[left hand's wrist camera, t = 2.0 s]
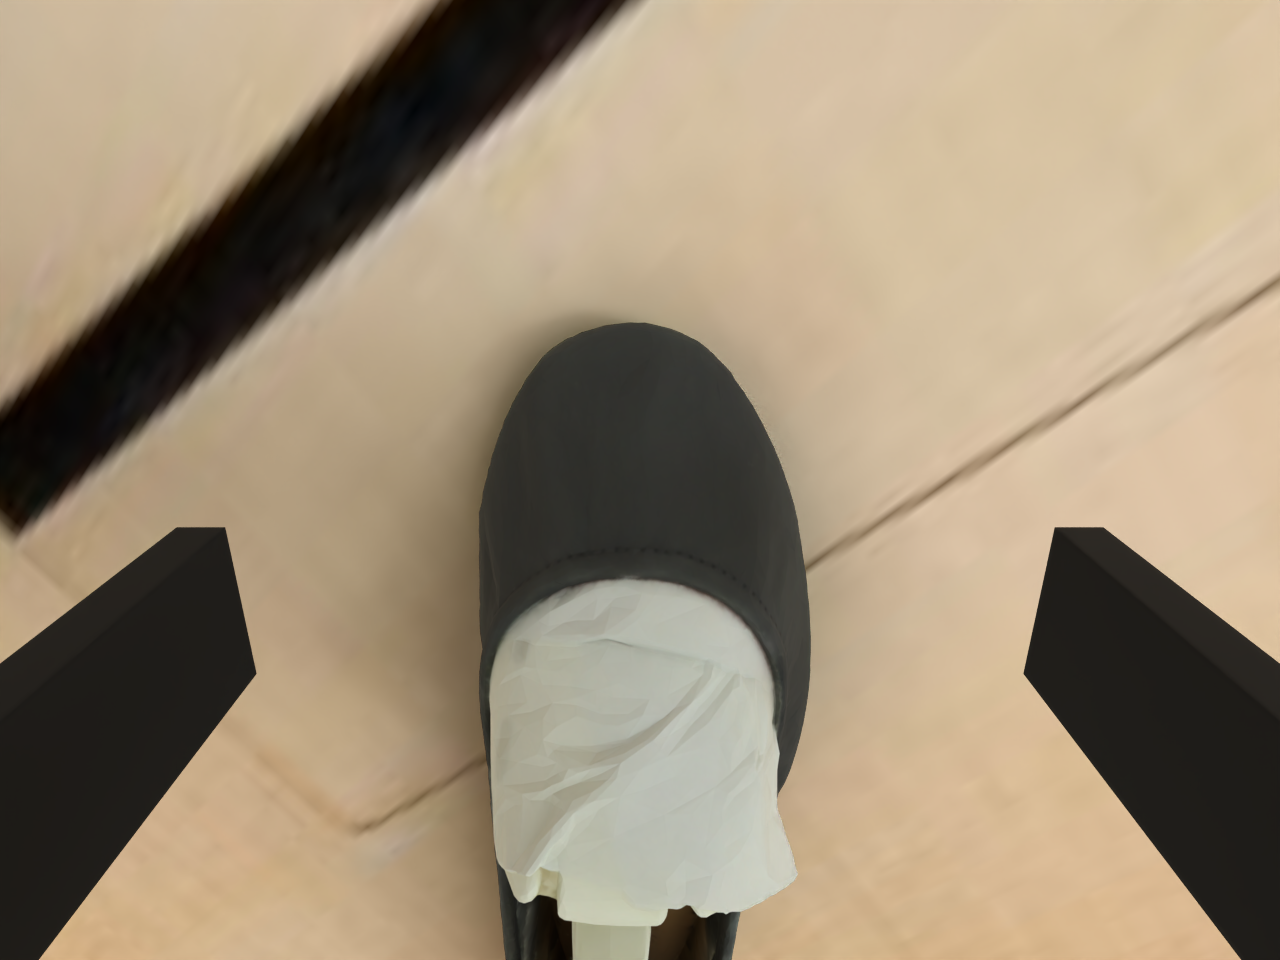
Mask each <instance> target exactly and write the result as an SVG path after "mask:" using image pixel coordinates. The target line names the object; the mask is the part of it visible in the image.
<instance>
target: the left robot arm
mask: <svg viewBox="0 0 1280 960" xmlns="http://www.w3.org/2000/svg"><path fill="white" fill-rule="evenodd" d="M255 675H256V669H255V664H254V660H253V655H252V650H251V646H250V641H249V636H248V632H247V627H246V622H245V618H244V613H243V608H242V604H241V599H240V594H239V590H238V585H237V580H236V576H235V571H234V566H233V562H232V557H231V552H230V548H229V543H228V538H227V534H226V529H225V527H177V528H175V529H174V530H173V531H171V532H170V533H169V534H168V535H166V536H165V537H164V538H162V539H161V540H160V541H159V542H157V543H156V544H155V545H153V546H152V547H151V548H149V549H148V550H147V551H146V552H144V553H143V554H142V555H140V556H139V557H138V558H136V559H135V560H134V561H133V562H131V563H130V564H129V565H127V566H126V567H125V568H124V569H122V570H121V571H120V572H118V573H117V574H116V575H114V576H113V577H112V578H111V579H109V580H108V581H107V582H105V583H104V584H103V585H101V586H100V587H99V588H98V589H96V590H95V591H94V592H92V593H91V594H90V595H89V596H87V597H86V598H85V599H83V600H82V601H81V602H79V603H78V604H77V605H76V606H74V607H73V608H72V609H70V610H69V611H68V612H67V613H65V614H64V615H63V616H61V617H60V618H59V619H57V620H56V621H55V622H54V623H52V624H51V625H50V626H48V627H47V628H46V629H44V630H43V631H42V632H41V633H39V634H38V635H37V636H35V637H34V638H33V639H32V640H30V641H29V642H28V643H26V644H25V645H24V646H22V647H21V648H20V649H19V650H17V651H16V652H15V653H13V654H12V655H11V656H9V657H8V658H7V659H6V660H4V661H3V662H2V663H0V960H39V959H40V957H41V956H42V955H43V953H44V952H45V951H46V950H47V948H48V947H49V946H50V944H51V943H52V942H53V940H54V939H55V938H56V936H57V935H58V934H59V932H60V931H61V930H62V928H63V927H64V926H65V925H66V923H67V922H68V921H69V919H70V918H71V917H72V915H73V914H74V913H75V911H76V910H77V909H78V907H79V906H80V905H81V904H82V902H83V901H84V900H85V898H86V897H87V896H88V894H89V893H90V892H91V890H92V889H93V888H94V886H95V885H96V884H97V883H98V881H99V880H100V879H101V877H102V876H103V875H104V873H105V872H106V871H107V869H108V868H109V867H110V865H111V864H112V863H113V862H114V860H115V859H116V858H117V856H118V855H119V854H120V852H121V851H122V850H123V848H124V847H125V846H126V844H127V843H128V842H129V840H130V839H131V838H132V837H133V835H134V834H135V833H136V831H137V830H138V829H139V827H140V826H141V825H142V823H143V822H144V821H145V819H146V818H147V817H148V816H149V814H150V813H151V812H152V810H153V809H154V808H155V806H156V805H157V804H158V802H159V801H160V800H161V798H162V797H163V796H164V795H165V793H166V792H167V791H168V789H169V788H170V787H171V785H172V784H173V783H174V781H175V780H176V779H177V777H178V776H179V775H180V774H181V772H182V771H183V770H184V768H185V767H186V766H187V764H188V763H189V762H190V760H191V759H192V758H193V756H194V755H195V754H196V752H197V751H198V750H199V749H200V747H201V746H202V745H203V743H204V742H205V741H206V739H207V738H208V737H209V735H210V734H211V733H212V731H213V730H214V729H215V728H216V726H217V725H218V724H219V722H220V721H221V720H222V718H223V717H224V716H225V714H226V713H227V712H228V710H229V709H230V708H231V707H232V705H233V704H234V703H235V701H236V700H237V699H238V697H239V696H240V695H241V693H242V692H243V691H244V689H245V688H246V687H247V685H248V684H249V683H250V682H251V680H252V679H253V678H254V676H255ZM1024 675H1025V676H1026V678H1027V679H1028V680H1029V682H1030V683H1031V684H1032V686H1033V687H1034V688H1035V689H1036V691H1037V692H1038V693H1039V695H1040V696H1041V697H1042V699H1043V700H1044V701H1045V703H1046V704H1047V705H1048V707H1049V708H1050V709H1051V710H1052V712H1053V713H1054V714H1055V716H1056V717H1057V718H1058V720H1059V721H1060V722H1061V724H1062V725H1063V726H1064V728H1065V729H1066V730H1067V731H1068V733H1069V734H1070V735H1071V737H1072V738H1073V739H1074V741H1075V742H1076V743H1077V745H1078V746H1079V747H1080V749H1081V750H1082V751H1083V752H1084V754H1085V755H1086V756H1087V758H1088V759H1089V760H1090V762H1091V763H1092V764H1093V766H1094V767H1095V768H1096V770H1097V771H1098V772H1099V774H1100V775H1101V776H1102V777H1103V779H1104V780H1105V781H1106V783H1107V784H1108V785H1109V787H1110V788H1111V789H1112V791H1113V792H1114V793H1115V795H1116V796H1117V797H1118V798H1119V800H1120V801H1121V802H1122V804H1123V805H1124V806H1125V808H1126V809H1127V810H1128V812H1129V813H1130V814H1131V816H1132V817H1133V818H1134V819H1135V821H1136V822H1137V823H1138V825H1139V826H1140V827H1141V829H1142V830H1143V831H1144V833H1145V834H1146V835H1147V837H1148V838H1149V839H1150V840H1151V842H1152V843H1153V844H1154V846H1155V847H1156V848H1157V850H1158V851H1159V852H1160V854H1161V855H1162V856H1163V858H1164V859H1165V860H1166V862H1167V863H1168V864H1169V865H1170V867H1171V868H1172V869H1173V871H1174V872H1175V873H1176V875H1177V876H1178V877H1179V879H1180V880H1181V881H1182V883H1183V884H1184V885H1185V886H1186V888H1187V889H1188V890H1189V892H1190V893H1191V894H1192V896H1193V897H1194V898H1195V900H1196V901H1197V902H1198V904H1199V905H1200V906H1201V907H1202V909H1203V910H1204V911H1205V913H1206V914H1207V915H1208V917H1209V918H1210V919H1211V921H1212V922H1213V923H1214V925H1215V926H1216V927H1217V928H1218V930H1219V931H1220V932H1221V934H1222V935H1223V936H1224V938H1225V939H1226V940H1227V942H1228V943H1229V944H1230V946H1231V947H1232V948H1233V950H1234V951H1235V952H1236V953H1237V955H1238V956H1239V957H1240V959H1241V960H1280V663H1278V662H1277V661H1276V660H1274V659H1273V658H1272V657H1271V656H1269V655H1268V654H1267V653H1265V652H1264V651H1263V650H1261V649H1260V648H1259V647H1258V646H1256V645H1255V644H1254V643H1252V642H1251V641H1250V640H1248V639H1247V638H1246V637H1245V636H1243V635H1242V634H1241V633H1239V632H1238V631H1237V630H1236V629H1234V628H1233V627H1232V626H1230V625H1229V624H1228V623H1226V622H1225V621H1224V620H1223V619H1221V618H1220V617H1219V616H1217V615H1216V614H1215V613H1213V612H1212V611H1211V610H1210V609H1208V608H1207V607H1206V606H1204V605H1203V604H1202V603H1201V602H1199V601H1198V600H1197V599H1195V598H1194V597H1193V596H1191V595H1190V594H1189V593H1188V592H1186V591H1185V590H1184V589H1182V588H1181V587H1180V586H1179V585H1177V584H1176V583H1175V582H1173V581H1172V580H1171V579H1169V578H1168V577H1167V576H1166V575H1164V574H1163V573H1162V572H1160V571H1159V570H1158V569H1156V568H1155V567H1154V566H1153V565H1151V564H1150V563H1149V562H1147V561H1146V560H1145V559H1144V558H1142V557H1141V556H1140V555H1138V554H1137V553H1136V552H1134V551H1133V550H1132V549H1131V548H1129V547H1128V546H1127V545H1125V544H1124V543H1123V542H1121V541H1120V540H1119V539H1118V538H1116V537H1115V536H1114V535H1112V534H1111V533H1110V532H1109V531H1107V530H1106V529H1105V528H1103V527H1055V529H1054V534H1053V538H1052V543H1051V548H1050V552H1049V557H1048V562H1047V566H1046V571H1045V576H1044V580H1043V585H1042V590H1041V594H1040V599H1039V604H1038V608H1037V613H1036V618H1035V622H1034V627H1033V632H1032V636H1031V641H1030V646H1029V650H1028V655H1027V660H1026V664H1025V669H1024Z"/></svg>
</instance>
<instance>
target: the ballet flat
mask: <svg viewBox="0 0 1280 960" xmlns="http://www.w3.org/2000/svg"><path fill="white" fill-rule="evenodd" d="M479 538H480V551H479V570H480V633H481V641H482V648H483V650H482V656H481V664H480V672H479V697H480V713H481V720H482V728H483V735H484V743H485V749H486V759H487V765H488V775H489V785H490V798H491V803H490V804H491V813H492V823H493V836H494V845H495V855H496V862H497V870H498V881H499V893H500V906H501V917H502V924H503V938H504V948H505V957H506V960H732V953H733V948H734V943H735V937H736V931H737V926H738V921H739V916H740V912H741V911H744V910H746V909H749V908H751V907H752V906H754V905H756V904H759V903H761V902H762V901H764V900H765V899H767V898H768V897H770V896H772V895H775V894H776V893H778V892H779V891H781V890H783V889H784V888H786V887H787V886H788V885H790V884H791V883H792V882H793V881H794V880H795V878H796V877H797V875H798V873H797V870H796V866H795V862H794V857H793V854H792V850H791V847H790V845H789V842H788V839H787V837H786V834H785V830H784V826H783V823H782V820H781V817H780V814H779V812H778V809H777V797H778V793H779V791H780V790H781V788H782V786H783V785H784V783H785V781H786V779H787V776H788V774H789V771H790V769H791V766H792V763H793V760H794V757H795V753H796V750H797V746H798V743H799V739H800V735H801V731H802V726H803V722H804V716H805V711H806V705H807V698H808V690H809V680H810V655H811V635H810V615H809V601H808V593H807V580H806V572H805V566H804V560H803V554H802V546H801V540H800V534H799V528H798V520H797V516H796V511H795V507H794V503H793V500H792V496H791V493H790V490H789V487H788V484H787V481H786V478H785V475H784V472H783V469H782V466H781V464H780V461H779V459H778V456H777V454H776V451H775V449H774V447H773V445H772V443H771V440H770V438H769V436H768V434H767V432H766V430H765V428H764V426H763V424H762V422H761V420H760V418H759V417H758V415H757V413H756V411H755V409H754V407H753V405H752V404H751V402H750V401H749V399H748V398H747V396H746V395H745V393H744V391H743V390H742V389H741V388H740V386H739V385H738V383H737V382H736V381H735V379H734V377H733V375H732V373H731V372H730V371H729V370H728V369H727V368H726V367H725V366H724V365H723V364H722V363H721V362H720V361H719V360H718V359H717V358H716V356H715V355H714V354H713V353H711V352H710V351H709V350H708V349H707V348H706V347H705V346H703V345H702V344H701V343H699V342H698V341H696V340H694V339H692V338H690V337H688V336H686V335H684V334H682V333H680V332H677V331H675V330H672V329H669V328H665V327H661V326H657V325H652V324H648V323H622V324H613V325H606V326H602V327H599V328H596V329H592V330H588V331H585V332H581V333H580V334H578V335H576V336H574V337H571V338H567V339H566V340H564V341H563V342H561V343H560V344H558V345H557V346H555V347H554V348H552V349H551V350H550V351H549V352H548V353H547V354H546V355H544V356H543V357H542V359H541V360H540V361H539V363H538V364H537V365H536V367H535V368H534V369H533V371H532V372H531V373H530V375H529V376H528V377H527V379H526V381H525V382H524V384H523V386H522V388H521V390H520V391H519V393H518V394H517V396H516V398H515V400H514V402H513V403H512V406H511V408H510V410H509V413H508V415H507V417H506V419H505V421H504V424H503V428H502V430H501V432H500V435H499V438H498V440H497V444H496V447H495V449H494V452H493V455H492V459H491V464H490V467H489V469H488V476H487V479H486V483H485V487H484V491H483V499H482V504H481V508H480V511H479Z"/></svg>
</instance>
